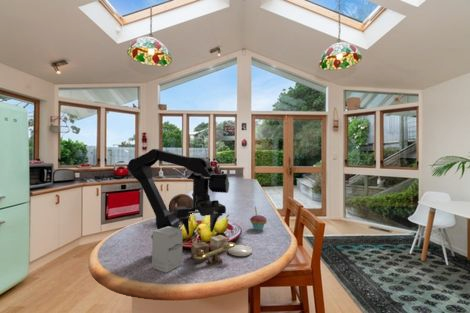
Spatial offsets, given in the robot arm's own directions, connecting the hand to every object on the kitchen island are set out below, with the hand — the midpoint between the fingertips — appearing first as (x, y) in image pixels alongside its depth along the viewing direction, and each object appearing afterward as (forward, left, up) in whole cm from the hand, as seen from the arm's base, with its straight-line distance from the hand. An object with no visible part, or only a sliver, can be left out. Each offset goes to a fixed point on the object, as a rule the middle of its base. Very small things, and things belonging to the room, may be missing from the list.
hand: (199, 233), depth 94 cm
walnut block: (0, 0, -9) cm, 9 cm away
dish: (+16, -2, -9) cm, 19 cm away
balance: (+4, -6, -9) cm, 12 cm away
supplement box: (-12, -2, -9) cm, 16 cm away
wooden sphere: (+9, +55, -9) cm, 56 cm away
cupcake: (+40, +21, -9) cm, 46 cm away
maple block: (+10, +4, -9) cm, 14 cm away
